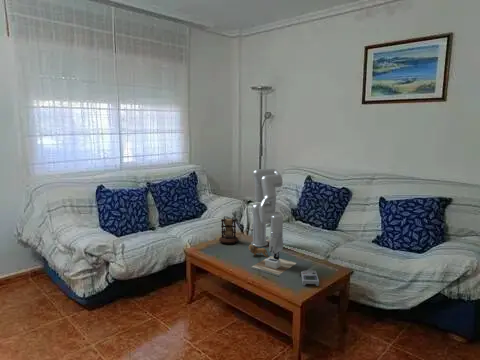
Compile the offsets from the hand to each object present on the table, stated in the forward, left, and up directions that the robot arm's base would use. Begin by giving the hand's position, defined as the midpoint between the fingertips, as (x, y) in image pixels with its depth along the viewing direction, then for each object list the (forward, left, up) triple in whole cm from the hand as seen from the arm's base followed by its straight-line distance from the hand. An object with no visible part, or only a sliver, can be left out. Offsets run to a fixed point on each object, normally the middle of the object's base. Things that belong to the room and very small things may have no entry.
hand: (276, 262), depth 219 cm
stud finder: (+5, 0, -1) cm, 5 cm away
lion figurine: (-5, -17, -3) cm, 18 cm away
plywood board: (+2, 0, -3) cm, 3 cm away
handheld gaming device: (+6, +26, -3) cm, 27 cm away
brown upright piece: (-18, -54, -3) cm, 57 cm away
